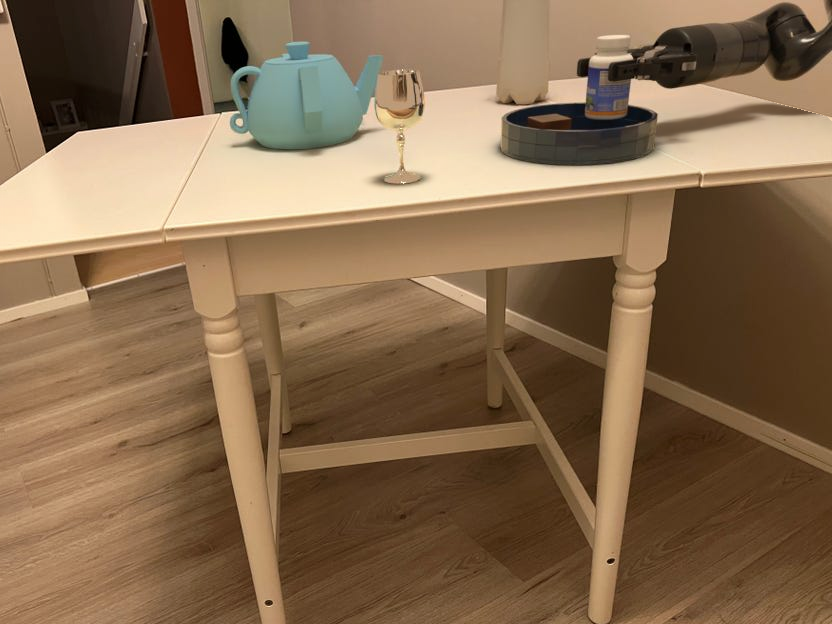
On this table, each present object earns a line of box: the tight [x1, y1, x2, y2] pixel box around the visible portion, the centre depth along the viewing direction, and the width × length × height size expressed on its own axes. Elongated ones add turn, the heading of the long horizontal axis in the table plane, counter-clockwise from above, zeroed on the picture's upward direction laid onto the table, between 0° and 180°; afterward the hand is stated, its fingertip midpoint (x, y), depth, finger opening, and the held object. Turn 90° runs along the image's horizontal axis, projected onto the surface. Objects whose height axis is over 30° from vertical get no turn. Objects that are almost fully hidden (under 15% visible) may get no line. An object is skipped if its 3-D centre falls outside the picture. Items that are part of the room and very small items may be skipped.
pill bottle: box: [585, 34, 633, 120], centre depth 91 cm, size 5×5×10 cm
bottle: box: [495, 0, 551, 105], centre depth 119 cm, size 9×9×30 cm
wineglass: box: [374, 68, 426, 185], centre depth 82 cm, size 6×6×12 cm
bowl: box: [500, 101, 659, 166], centre depth 92 cm, size 19×19×4 cm
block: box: [527, 114, 572, 130], centre depth 90 cm, size 4×4×4 cm
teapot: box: [229, 41, 384, 150], centre depth 107 cm, size 19×19×14 cm
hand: (594, 70), depth 90 cm, fingers closed on pill bottle, 5 cm apart
